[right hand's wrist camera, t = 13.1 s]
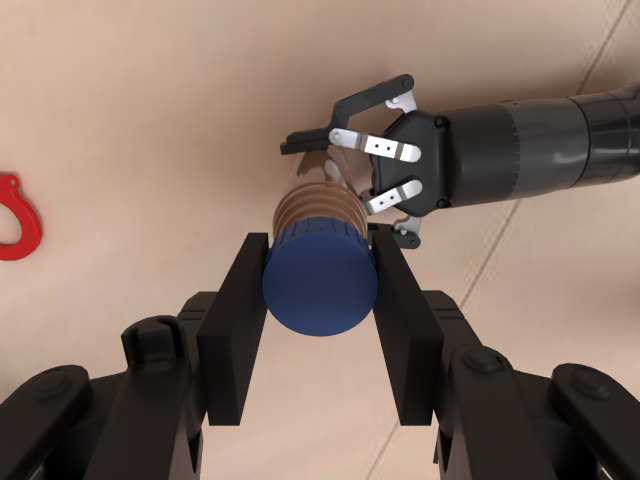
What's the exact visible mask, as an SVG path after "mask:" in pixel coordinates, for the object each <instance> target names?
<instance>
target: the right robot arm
mask: <svg viewBox="0 0 640 480" xmlns="http://www.w3.org/2000/svg"><path fill="white" fill-rule="evenodd" d="M371 250H372V253H373V256H374V259H375V263H376V266H375V268H376V272H377V276H378V289H377V298H376V301H375V303H374V306H373V308H372V309H373V313H374V317H375V321H376V325H377V329H378V334H379V338H380V342H381V346H382V350H383V354H384V358H385V362H386V367H387V371H388V375H389V379H390V383H391V387H392V391H393V395H394V399H395V404H396V408H397V412H398V416H399V420H400V424H401V426H431V421H432V415H433V409H434V412H435V414H436V417H437V420H438V423H439V429H438V435H437V441H436V447H435V453H434V460H433V463H435V464H438V460H439V469H440V479H441V480H611V479H610V478H609V477H608V476H607V475H606V474H605V473H604V471H603V470H602V467H603V468H604V469H605V470H606V471H607V473H608V474H609V475H610V476H611V478H612V479H613V480H640V402H639V401H638V400H637V399H636V398H635V397H634V396H633V395H631V394H630V393H629V392H628V391H627V390H626V389H625V388H624V387H623V386H622V385H621V384H619V383H618V382H617V381H615V380H614V379H613V378H611V377H610V376H609V375H607V374H605V373H603V372H601V371H599V370H597V369H594V368H592V367H588V366H585V365H581V364H572V363H566V364H561V365H558V366H557V367H556V368H555V369H554V370H553V373H552V376H551V378H547V377H542V376H538V375H533V374H529V373H524V372H521V371H517V370H514V369H513V367H512V365H511V364H510V362H509V361H508V360H507V358H506V357H504V356H503V355H502V354H500V353H499V352H498V351H496V350H493V349H491V348H489V347H487V346H483V345H482V343H481V342H480V340H479V339H478V337H477V335H476V334H475V332H474V331H473V329H472V328H471V326H470V325H469V323H468V322H467V320H466V319H465V317H464V315H463V314H462V312H461V311H459V308H458V306H457V305H456V303H455V301H454V300H453V299H452V298H451V297H449V296H448V295H447V294H445V293H444V292H442V291H441V290H421V289H420V287H419V285H418V283H417V281H416V279H415V277H414V275H413V273H412V272H411V270H410V268H409V266H408V264H407V262H406V260H405V258H404V256H403V254H402V252H401V250H400V248H399V246H398V244H397V242H396V240H395V238H394V236H393V235H392V233H372V246H371ZM268 251H269V242H268V233H248V235H247V237H246V239H245V241H244V243H243V245H242V247H241V249H240V251H239V253H238V254H237V256H236V258H235V260H234V262H233V264H232V266H231V268H230V270H229V272H228V274H227V276H226V278H225V280H224V282H223V284H222V286H221V288H220V290H219V291H218V292H198V293H197V294H195V295H194V296H193V297H191V298H190V299H188V300H187V302H186V303H185V305H184V306H183V308H182V309H181V312H180V313H179V314H178V316H177V317H174V316H171V315H159V316H154V317H149V318H146V319H143V320H141V321H138V322H136V323H134V324H133V325H131V326H130V327H128V328H127V329H126V330H125V331H124V332H123V334H122V335H121V339H122V344H123V348H124V352H125V356H126V360H127V364H128V368H127V370H126V371H125V372H121V373H118V374H114V375H110V376H105V377H100V378H96V379H91V380H90V378H89V375H88V372H87V370H85V369H84V368H83V367H82V366H77V365H64V366H58V367H54V368H51V369H48V370H45V371H43V372H41V373H39V374H37V375H35V376H33V377H32V378H30V379H29V380H28V381H26V382H25V383H24V384H22V385H21V386H20V387H19V388H18V389H17V390H16V391H14V392H13V393H12V394H11V395H10V396H9V397H8V398H7V399H6V400H5V401H4V402H3V403H2V404H1V405H0V480H200V470H201V460H202V450H203V435H202V429H201V425H202V423H203V420H204V417H205V414H206V411H207V413H208V420H209V426H239V425H240V421H241V417H242V413H243V409H244V405H245V400H246V396H247V392H248V388H249V384H250V380H251V376H252V372H253V367H254V363H255V359H256V355H257V351H258V347H259V343H260V339H261V334H262V330H263V326H264V322H265V318H266V314H267V310H268V307H267V305H266V303H265V301H264V297H263V285H262V276H263V272H264V269H265V266H266V265H265V264H264V263H265V260H266V257H267V254H268Z"/></svg>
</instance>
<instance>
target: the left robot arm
mask: <svg viewBox="0 0 640 480" xmlns="http://www.w3.org/2000/svg"><path fill="white" fill-rule="evenodd" d="M413 86H414V79H413V77H412V76H411V75H409V74H404V75H399V76H396V77H394V78H391V79H389V80H387V81H384V82H382V83H380V84H377V85H375V86H373V87H370V88H368V89H366V90H363V91H361V92H359V93H356V94H354V95H352V96H349V97H347V98H345V99H342V100H340V101H338V102H336V103H335V105H334V107H333V113H332V118H331V122H330V123H329V125H328V126H326V127H324V128H319V129H313V130H306V131H299V132H293V133H292V134H290V135H288V136H287V137H286V140H287V142H284V143H281V144H280V150H281V155H287V154H294V153H301V152H308V151H314V150H321V149H328V148H329V146H328V145H339V146H343V147H348V148H353V149H357V150H359V151H363V152H367V153H369V157H370V162H371V164H372V167H373V173H372V187H370V188H368V189H366V190H364V191H362V192H361V193H360V194H359V197H360V199H361V202H362V204H363V207H364V210H365V213H366V216H368V215H374V214H377V213H379V212H381V211H383V210H385V209H387V208H389V207H391V206H393V207H395V208H397V209H399V210H401V211H403V212H405V213H406V214H408V215H407V217H406V218H404V219H398V220H396V221H395V222H394V223H393V225H391V224H380V223H370V222H367V239H366V240H367V243H368V245H372V233H392V235H393V236H394V238H395V240H396V242H397V244H398V246H399V248H404V249H416V248H418V247H419V246H420V243H421V241H420V238H419V237H418V232H419V228H420V223H421V218H422V217H424V216H426V215H428V214H429V213H431V212H432V211H434V210H437V209H445V208H454V207H461V206H469V205H476V204H484V203H491V202H498V201H506V200H513V199H521V198H528V197H534V196H538V195H543V194H546V193H550V192H553V191H558V190H563V189H571V188H578V187H585V186H593V185H600V184H607V183H614V182H620V181H624V180H628V179H631V178H634V177H636V176H638V175H640V81H637V82H634V83H631V84H628V85H625V86H622V87H619V88H616V89H613V90H609V91H603V92H596V93H588V94H582V95H575V96H568V97H562V98H536V99H525V100H518V101H510V100H508V101H503V102H500V103H498V104H491V105H484V106H478V107H471V108H464V109H458V110H451V111H444V112H437V113H427V112H425V111H422V110H418V109H417V106H416V103H415V99H414V96H413V92H412V88H413ZM383 102H384V105H385V106H386V107H387V108H391V109H395V108H399V109H401V110H402V112H403V114H402V115H401V116H400V117H399V118H398V119H396V120H395V121H394V122H393V123H392V124H391V125H390V126H389V127H388V128H387V129H386V130H385V131H384V132H383V133H382V134H381V135H379V134H374V133H370V132H365V131H360V130H354V129H350V128H347V123H348V119H349V117H350V116H352V115H354V114H357V113H359V112H361V111H364V110H366V109H369V108H371V107H373V106H376V105H378V104H381V103H383ZM381 201H382V202H381ZM380 202H381V203H380Z"/></svg>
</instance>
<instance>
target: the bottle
mask: <svg viewBox="0 0 640 480" xmlns="http://www.w3.org/2000/svg"><path fill="white" fill-rule="evenodd" d="M328 146H329V148H328V149H321V150H314V151H308V152H301V153H297V155H296V158H295V161H294V163H293V166H292V168H291V171H290V174H289V176H288V179H287V181H286V184H285V187H284V189H283V192H282V194H281V197H280V200H279V202H278V205H277V208H276V210H275V213H274V218H273V238H274V239H275V237H276V238H277V237H278V236H279V235H280V233H281V232H282V231H283V229H284V228H285V229H286V228H287V227H289V226H290V225H292V224H293V223H294V222H295V221H296V222H297V221H300V220H303V219H306V217H309V218H311V217H320V216H322V217H329V218H333V217H334V218H335V219H337V220H340V221H343V222H347V223H348V224H349V225H350V226H352V227H353V228H354V229H358V231H359V233H360V234H361V235H362V237H363V238H364V239H365V238H366V239H367V216H366V213H365V210H364V207H363V204H362V202H361V199H360V197H359V194H358V191H357V189H356V186H355V183H354V181H353V178H352V176H351V173H350V170H349V168H348V165H347V163H346V160H345V157H344V155H343V153H342V151H341V149H340V148H339V146H338V145H328Z"/></svg>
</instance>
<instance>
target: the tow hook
mask: <svg viewBox="0 0 640 480" xmlns="http://www.w3.org/2000/svg"><path fill="white" fill-rule="evenodd" d="M18 186H19V181H18V178H17V177H16V176H14V175H0V203H2V204H3V205H5V206H6V207H8V208H9V209H10V210H11V211H12V212H13V213H14V214H15V216H16V217H17V218H18V220H19V222H20V225H21V229H22V235H21V239H20V241H19V242H18V243H17V244H16V245H12V246H4V245H0V260H3V261H15V260H18V259H22V258H24V257H26V256H28V255H29V254H30V253H32V252H33V251H35V249H36V248H37V246H38V245H39V243H40V239H41V226H40V223H39V221H38V218H37V215H36V214H35V212H34V211H33V209H32V208H31V207H30V205H29V204H28V203H27V202H26V201H25V200H24V199H23V198H22V197H21V196H19V193H18V190H17V188H18Z"/></svg>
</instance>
